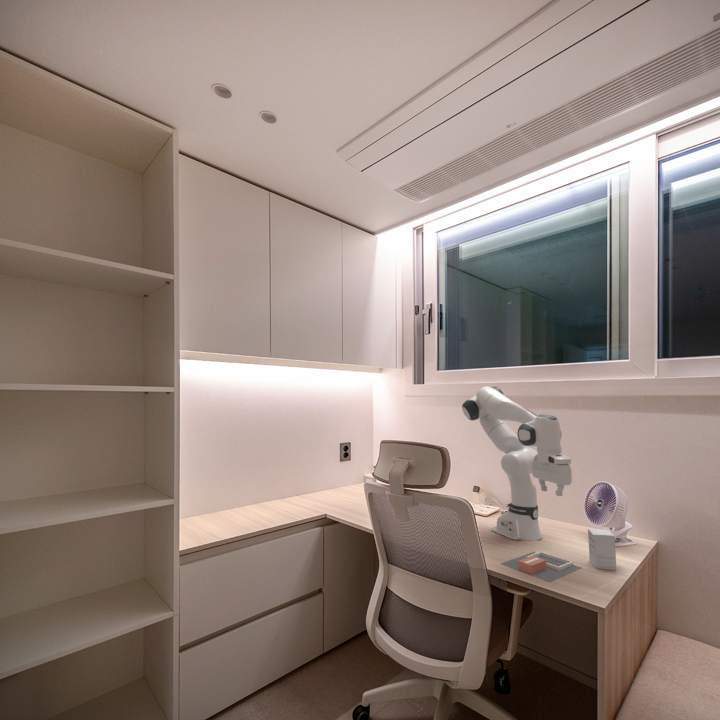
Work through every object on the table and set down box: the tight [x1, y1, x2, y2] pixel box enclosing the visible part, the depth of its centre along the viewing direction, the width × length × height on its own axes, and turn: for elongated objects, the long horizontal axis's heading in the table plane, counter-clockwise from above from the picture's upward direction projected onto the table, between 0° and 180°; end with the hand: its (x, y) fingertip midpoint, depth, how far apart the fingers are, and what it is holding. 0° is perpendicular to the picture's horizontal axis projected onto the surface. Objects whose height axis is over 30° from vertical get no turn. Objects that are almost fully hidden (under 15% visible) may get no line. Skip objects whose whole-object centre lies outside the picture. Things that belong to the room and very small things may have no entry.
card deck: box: [518, 556, 546, 574], centre depth 156 cm, size 9×6×3 cm, turn 125°
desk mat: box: [500, 551, 582, 583], centre depth 159 cm, size 20×22×1 cm
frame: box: [526, 551, 574, 571], centre depth 162 cm, size 13×10×1 cm
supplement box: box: [587, 528, 617, 571], centre depth 160 cm, size 7×7×13 cm
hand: (551, 493), depth 163 cm, fingers open, 8 cm apart
